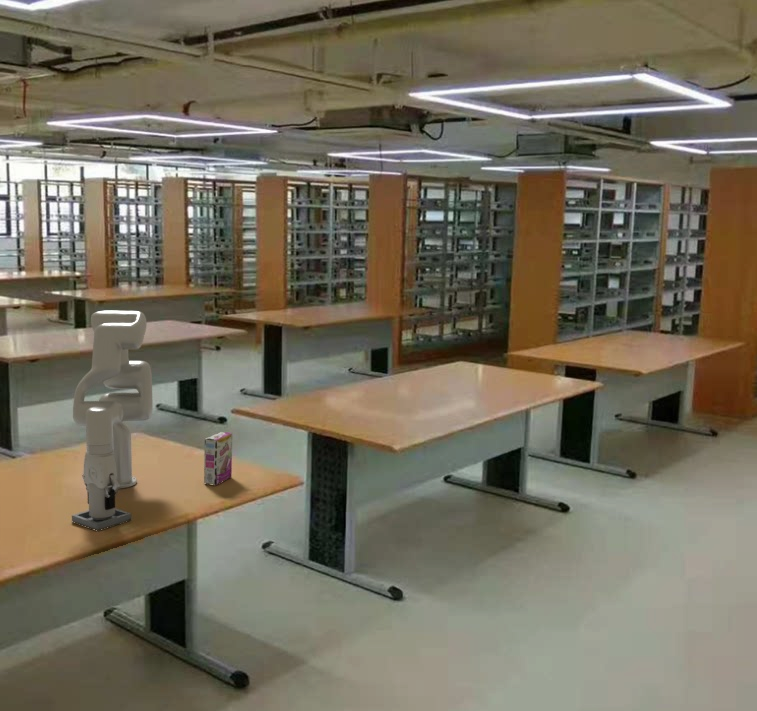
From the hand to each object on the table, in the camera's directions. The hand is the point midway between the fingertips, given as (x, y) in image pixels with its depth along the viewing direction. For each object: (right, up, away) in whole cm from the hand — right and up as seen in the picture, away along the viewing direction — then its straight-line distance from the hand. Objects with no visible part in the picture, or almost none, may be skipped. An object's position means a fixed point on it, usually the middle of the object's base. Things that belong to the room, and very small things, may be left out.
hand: (101, 505), depth 249 cm
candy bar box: (+27, +1, +42) cm, 50 cm away
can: (0, -4, +1) cm, 4 cm away
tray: (0, -5, +1) cm, 5 cm away
